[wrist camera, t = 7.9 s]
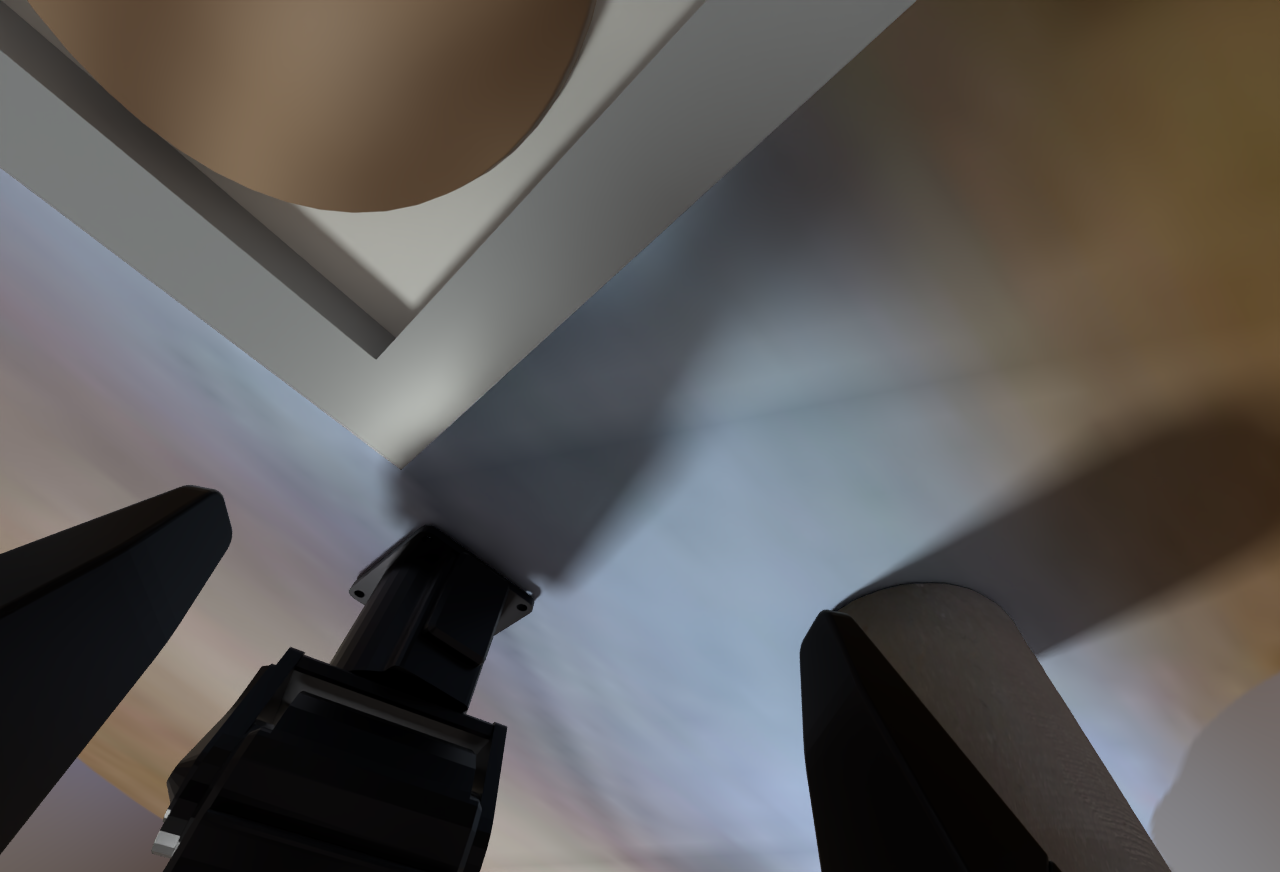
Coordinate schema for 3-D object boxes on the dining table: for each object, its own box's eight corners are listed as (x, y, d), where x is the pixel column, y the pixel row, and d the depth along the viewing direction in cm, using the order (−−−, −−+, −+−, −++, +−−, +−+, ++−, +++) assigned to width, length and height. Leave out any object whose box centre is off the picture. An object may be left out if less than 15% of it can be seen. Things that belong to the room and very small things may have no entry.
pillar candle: (801, 708, 30) (895, 1163, 17) (809, 582, 25) (950, 1102, 12) (991, 703, 29) (1237, 1184, 16) (1041, 572, 24) (1457, 1128, 11)
